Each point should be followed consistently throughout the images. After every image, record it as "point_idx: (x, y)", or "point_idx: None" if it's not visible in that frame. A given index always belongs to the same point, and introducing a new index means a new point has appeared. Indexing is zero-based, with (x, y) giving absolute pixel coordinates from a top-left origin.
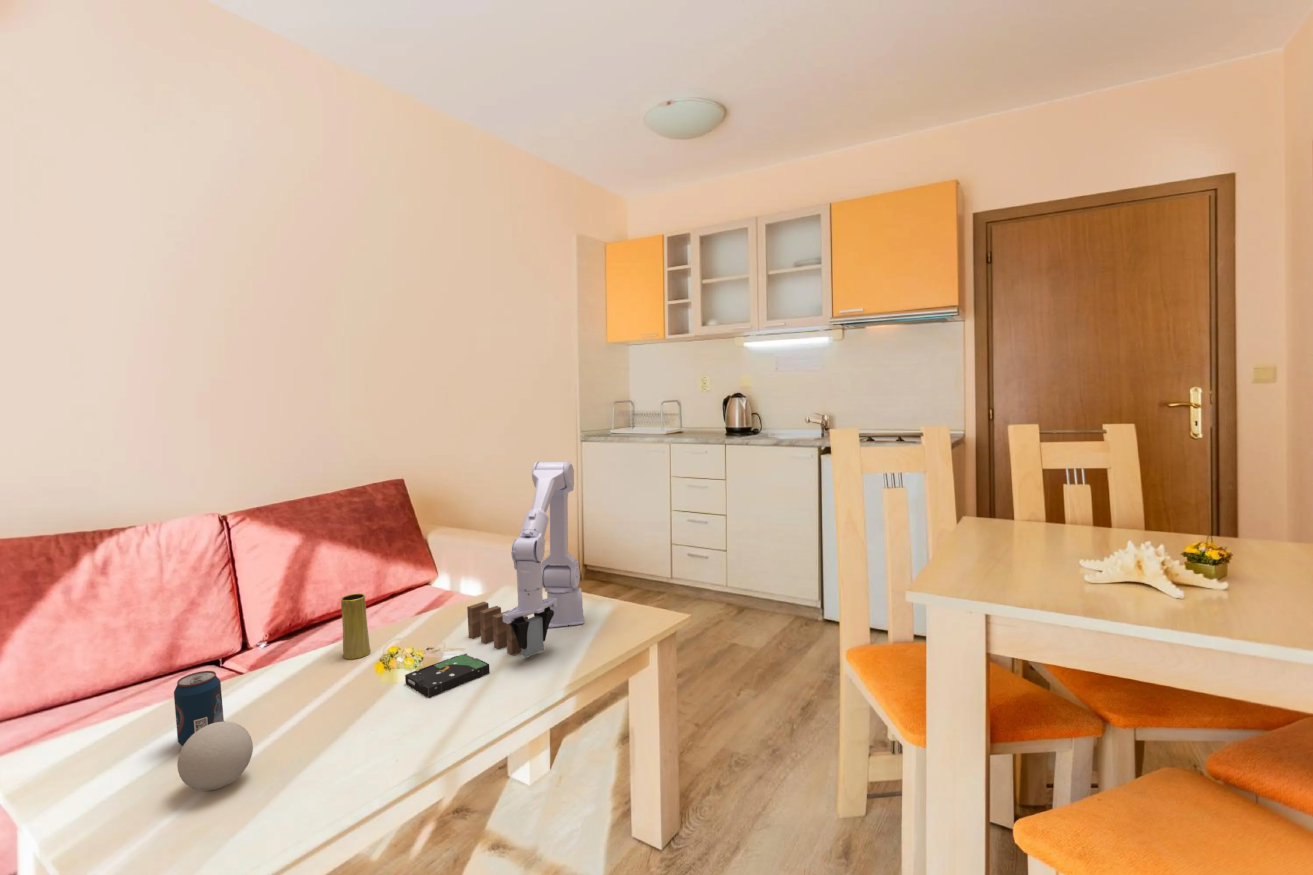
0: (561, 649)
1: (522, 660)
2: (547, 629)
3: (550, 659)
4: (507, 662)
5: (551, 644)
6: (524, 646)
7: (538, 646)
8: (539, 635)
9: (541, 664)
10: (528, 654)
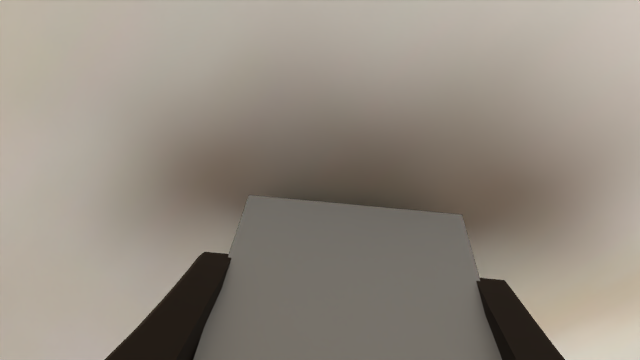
0: (77, 111)
1: None
2: (124, 344)
3: (303, 32)
4: (546, 292)
5: (90, 247)
6: (520, 302)
7: (309, 237)
8: (268, 331)
9: (450, 22)
10: (445, 223)
